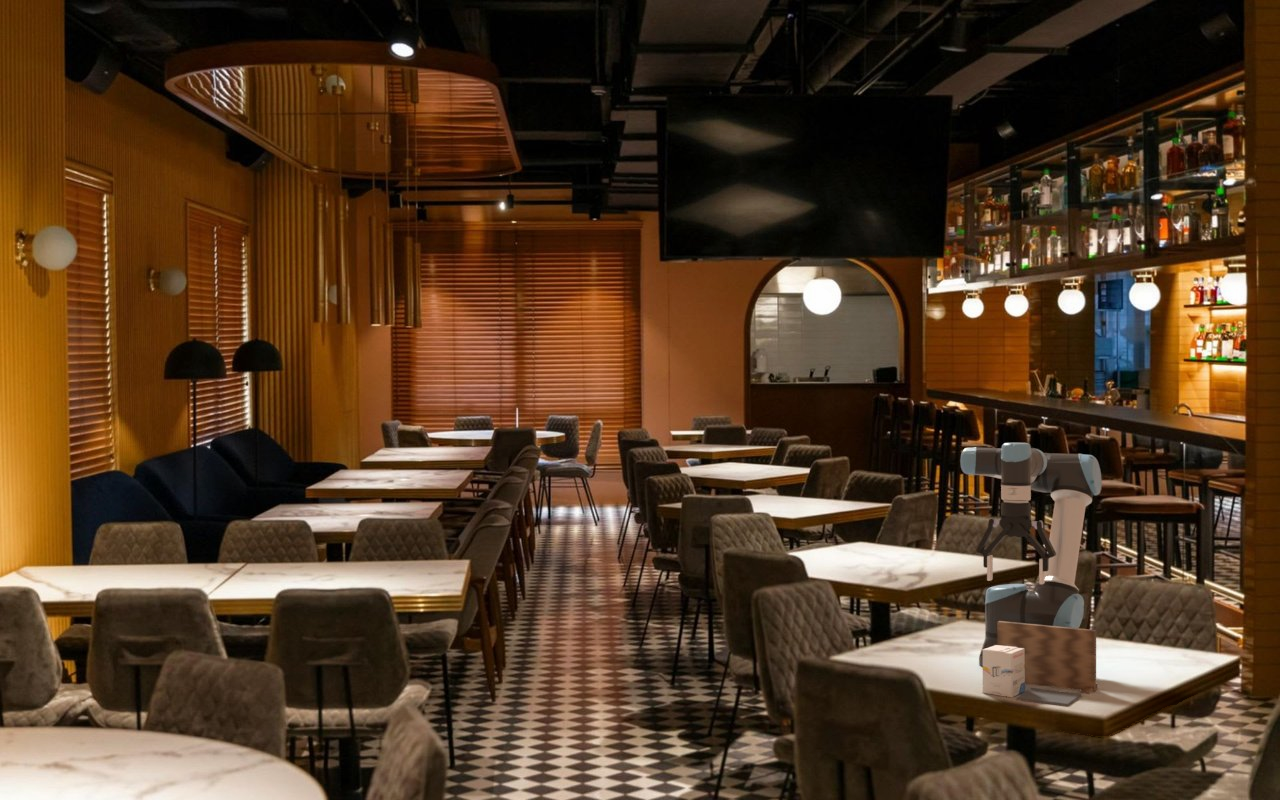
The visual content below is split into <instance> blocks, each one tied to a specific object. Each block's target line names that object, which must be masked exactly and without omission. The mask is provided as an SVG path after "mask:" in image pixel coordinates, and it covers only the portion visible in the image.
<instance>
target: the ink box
mask: <svg viewBox="0 0 1280 800" xmlns="http://www.w3.org/2000/svg"><path fill="white" fill-rule="evenodd" d="M1024 692H1026V684H1025V650H1024V648H1017V647H1012V646H1001V645H995V646H992V647H989V648H985V649H983V666H982V693H983V694H989V695H994V696H1002V697H1006V696H1007V697H1006V698H1014V697H1016V696H1018V695H1021V694H1023V693H1024Z"/></svg>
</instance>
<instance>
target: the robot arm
mask: <svg viewBox="0 0 1280 800" xmlns="http://www.w3.org/2000/svg"><path fill="white" fill-rule="evenodd" d="M959 461H960V468H961V471H962V472H963V474H966V475H973V476H984V477H991V478H996V479H1000V480H1001V481H1000V487H1001V488H1000V489H1001V491H1000V497H1001V498H1000V499H1001V500H1002V502H1001V504H1000V519H996V518H995V517H994V518H993V517H992V518H990V519H988V526H987V528H986V530H985V532H984V534H983V536H982V538H981V540H980V542H979V544H978V546H977V548H976V553H978V554H981V555H982V557H983V568H986V581H988V582H989V581H990V582H992V580H994V579H993V578H994V577H993V571H994V570H993V569H994V568H993V565H994V564H993V563H994V562H993V561H994V557H993V554H991V553H992V552H993V551H994V549H996V548H997V546H998V545H999V544H1000V543H1001V542H1002V541H1003V540H1004V538H1005V537H1006V536H1008V537H1009V538H1012V537H1013V538H1014V537H1016V538H1022V537H1024V538H1025V539H1026V540H1027V541H1028V542H1029V544H1031V546H1032V547H1033V548H1034V550H1035V551H1036V552H1037V553H1038V554H1039V556H1040V557H1041V558H1039V560H1038V561H1039V567H1038V568H1039V569H1038V573H1039V577H1038V580H1039V581H1037V582H1036V584H1035V585H1036V586H1035V590H1034V589H1033V590H1032V589H1030V590H1029V587H1028V586H1027V584H1026V583H1009V584H998V585H994V586H991V587H987V590H986V591H985V600H984V601H985V602H984V611H985V612H984V613H985V617H984V618H985V619H984V620H985V621H984V622H985V624H984V628H985V629H984V630H985V632H984V633H985V637H984V641H983V644H982V647H981V649H980V653H979V657H978V664H979V666H980V667H983V649H985V648H989V647H992V646H995V645H997V622H998V621H1006V622H1016V623H1027V624H1038V625H1048V626H1059V627H1069V628H1080V627H1081V626H1080V625H1081V624H1082V621H1083V618H1084V613H1085V612H1084V611H1085V608H1084V606H1085V600H1084V598H1083V596H1082V595H1081V594H1080V593H1079V592H1080V589H1079V588H1078V587H1077V585H1076V584H1075V582H1076V576H1077V568H1078V561H1079V556H1080V555H1079V553H1080V547H1081V540H1082V534H1083V528H1084V519H1085V513H1086V507H1088V506H1089V505H1090V504H1092V502H1093V497H1094V496H1098V495H1099V494H1101V491H1102V472H1101V468H1100V464H1099V461H1098V459H1097V458H1096V457H1095V456H1094V455H1092V454H1083V453H1053V452H1052V453H1049V452H1043V451H1042V450H1040V449H1039V448H1034V447H1032V446H1031V444H1030V443H1028V442H1004V443H1003V444H1002V445H1001V447H1000V448H997V447H996V448H995V447H977V446H974V447H965V448H964V449H963V450H962V451H961V454H960V459H959ZM1031 491H1034V492H1040V493H1047V494H1048V493H1049V494H1050V497H1051V498H1052V500H1053V501H1054V507H1053V511H1052V512H1053V513H1052V518H1051V525H1050V532H1049V537H1048V534H1047V533H1046V530H1045V527H1044V521H1043V520H1042V519H1041V520H1038V521H1032V518H1031V517H1032V516H1031V515H1032V514H1031V513H1032V512H1031V511H1032V509H1031V508H1032V507H1031V505H1032V504H1031V503H1030V502H1029V501H1031V499H1032V498H1031V497H1032V492H1031ZM998 525H999V526H1000V527H1001V529H1002V530H1001V531H1000V532H999V533H998V535H997V536H996V537H995V539H993V541H992V542H990V544H989V545H988V542H989V540H990V538H991V536H992V534H993V532H994V530H995V528H997V527H998ZM1032 527H1034V529H1035V530H1037V533H1038V535H1039V537H1040V540H1041V542H1042V543H1043V545H1044V547H1045V548H1044V547H1043V546H1042V545H1041V543H1040V542H1039V541H1038V540H1037V538H1036V537H1035V536H1034V535H1033V533H1032V532H1031V531H1030V530H1031V528H1032ZM987 545H988V546H987ZM986 546H987V547H986ZM1045 549H1046V550H1045Z"/></svg>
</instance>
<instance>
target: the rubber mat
mask: <svg viewBox="0 0 1280 800" xmlns="http://www.w3.org/2000/svg"><path fill="white" fill-rule="evenodd" d="M1082 696H1083V694H1082V693H1078V692H1070V691H1061V690H1054V689H1047V688H1046V689H1045V688H1037V687H1031V688H1029V689H1028V690H1025V691H1024V692H1022V693H1020V694H1019V696H1018V695H1017V697H1016V701H1023V702H1031V703H1039V704H1046V705H1047V704H1048V705H1055V706H1063V707H1069V706H1070V705H1072V704H1073V703H1074V702H1075V701H1077V700H1078V699H1080V698H1081V697H1082Z"/></svg>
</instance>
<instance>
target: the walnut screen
mask: <svg viewBox="0 0 1280 800" xmlns="http://www.w3.org/2000/svg"><path fill="white" fill-rule="evenodd" d="M997 645H1001V646H1012V647H1017V648H1024V650H1025V685H1036V686H1043V687H1051V688H1061V689H1069V690H1077V691H1080V692H1081V694H1082V693H1084V694H1092V693H1093V692H1096V691H1097V689H1099V688H1098V683H1097V629H1092V628H1091V629H1089V628H1080V627H1079V628H1069V627H1059V626H1048V625H1038V624H1027V623H1016V622H1006V621H998V622H997Z"/></svg>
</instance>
